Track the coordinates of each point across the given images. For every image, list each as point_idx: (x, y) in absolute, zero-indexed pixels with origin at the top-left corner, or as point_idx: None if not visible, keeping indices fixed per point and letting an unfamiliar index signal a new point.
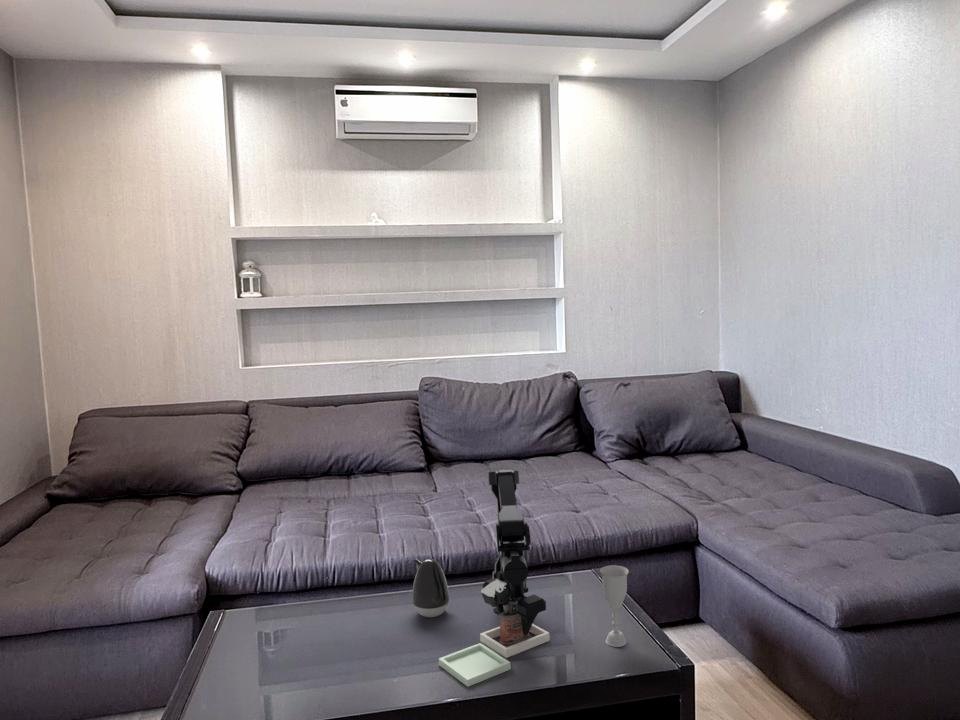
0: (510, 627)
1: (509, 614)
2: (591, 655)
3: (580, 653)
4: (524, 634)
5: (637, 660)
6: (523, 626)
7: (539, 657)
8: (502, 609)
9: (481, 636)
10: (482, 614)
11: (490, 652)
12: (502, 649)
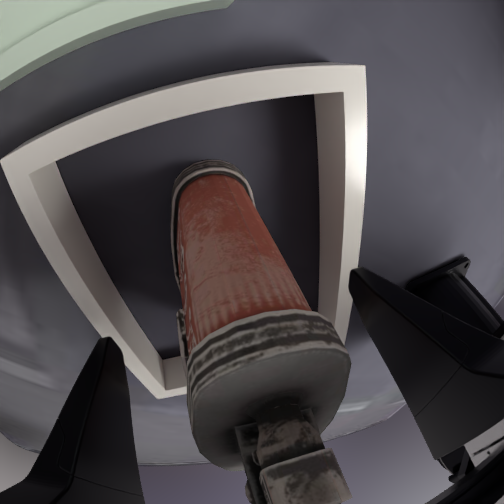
0: (183, 314)
1: (244, 424)
2: (43, 405)
3: (52, 396)
4: (96, 347)
5: (30, 434)
6: (72, 403)
7: (19, 303)
8: (411, 348)
9: (339, 64)
10: (479, 215)
11: (38, 32)
12: (39, 137)
